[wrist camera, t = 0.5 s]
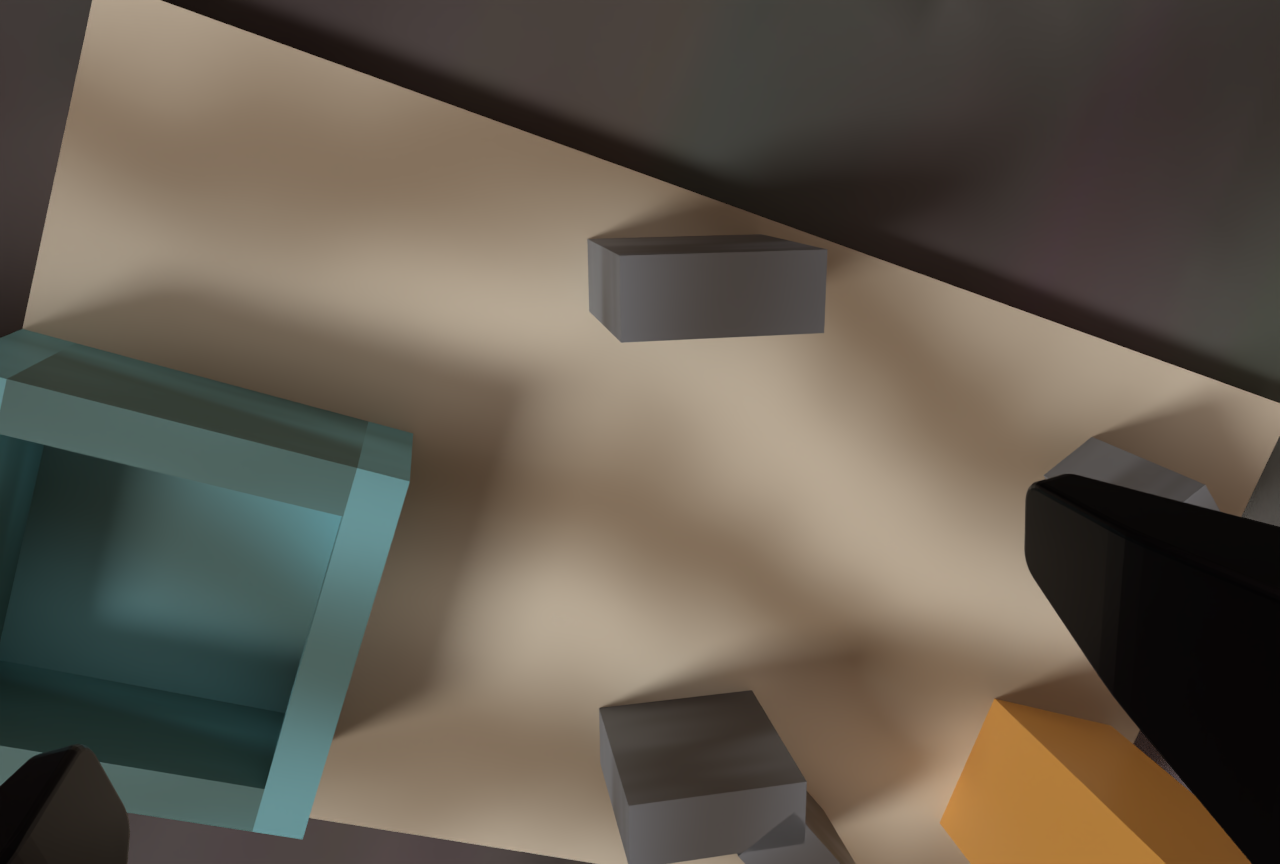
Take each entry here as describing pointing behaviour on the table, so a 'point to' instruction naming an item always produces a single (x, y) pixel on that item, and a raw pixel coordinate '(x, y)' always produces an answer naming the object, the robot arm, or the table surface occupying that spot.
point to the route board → (523, 482)
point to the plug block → (1074, 798)
